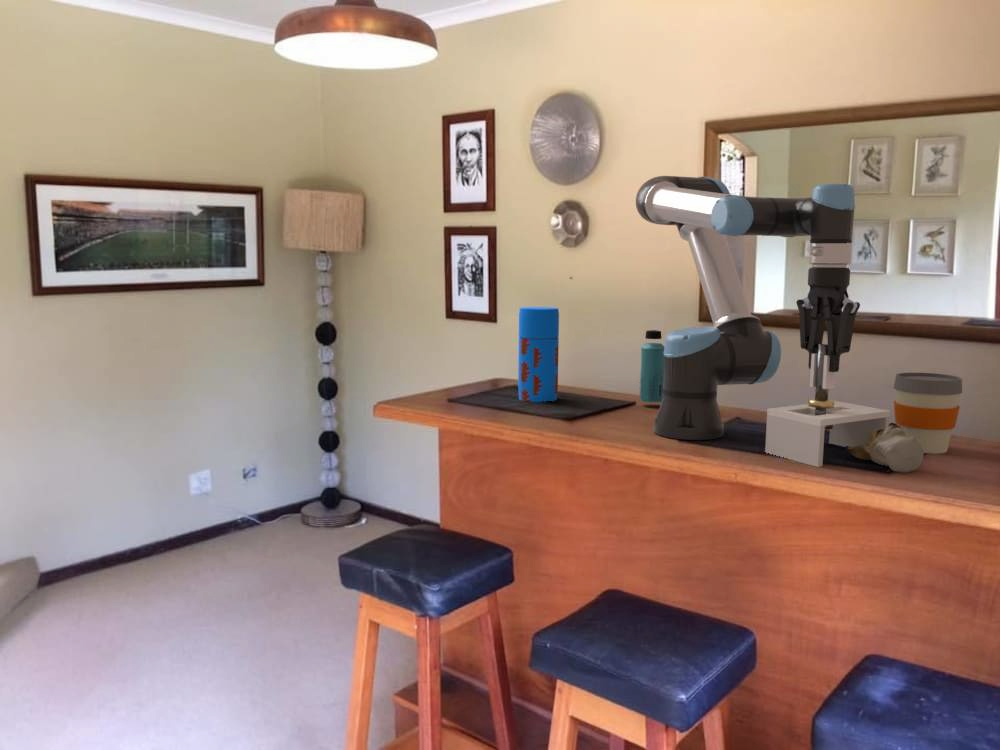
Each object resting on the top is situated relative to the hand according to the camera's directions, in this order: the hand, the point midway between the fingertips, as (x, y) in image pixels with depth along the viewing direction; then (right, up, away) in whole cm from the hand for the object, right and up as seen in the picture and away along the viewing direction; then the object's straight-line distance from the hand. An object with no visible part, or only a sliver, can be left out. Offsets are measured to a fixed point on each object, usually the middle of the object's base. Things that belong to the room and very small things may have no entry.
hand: (822, 387), depth 164 cm
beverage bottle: (-23, -6, +56) cm, 61 cm away
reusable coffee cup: (+24, -13, +9) cm, 29 cm away
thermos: (-53, -4, +66) cm, 85 cm away
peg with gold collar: (0, -8, +1) cm, 8 cm away
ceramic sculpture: (+10, -15, -6) cm, 19 cm away
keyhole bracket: (+2, -13, +3) cm, 14 cm away
